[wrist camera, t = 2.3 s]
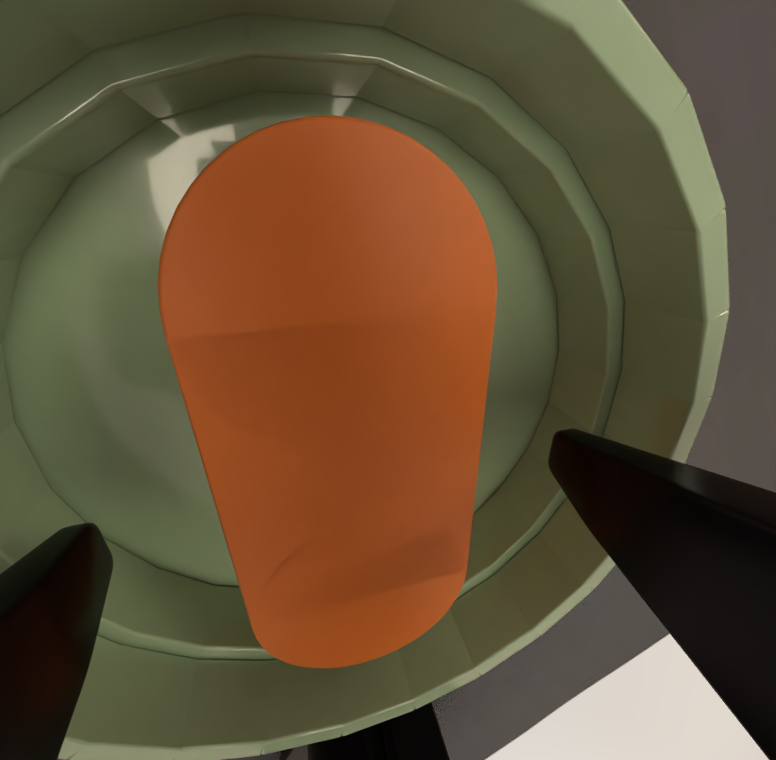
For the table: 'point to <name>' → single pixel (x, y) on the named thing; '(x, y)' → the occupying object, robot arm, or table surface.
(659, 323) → the bowl
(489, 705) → the table surface
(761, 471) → the table surface
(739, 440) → the table surface
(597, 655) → the table surface
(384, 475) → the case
